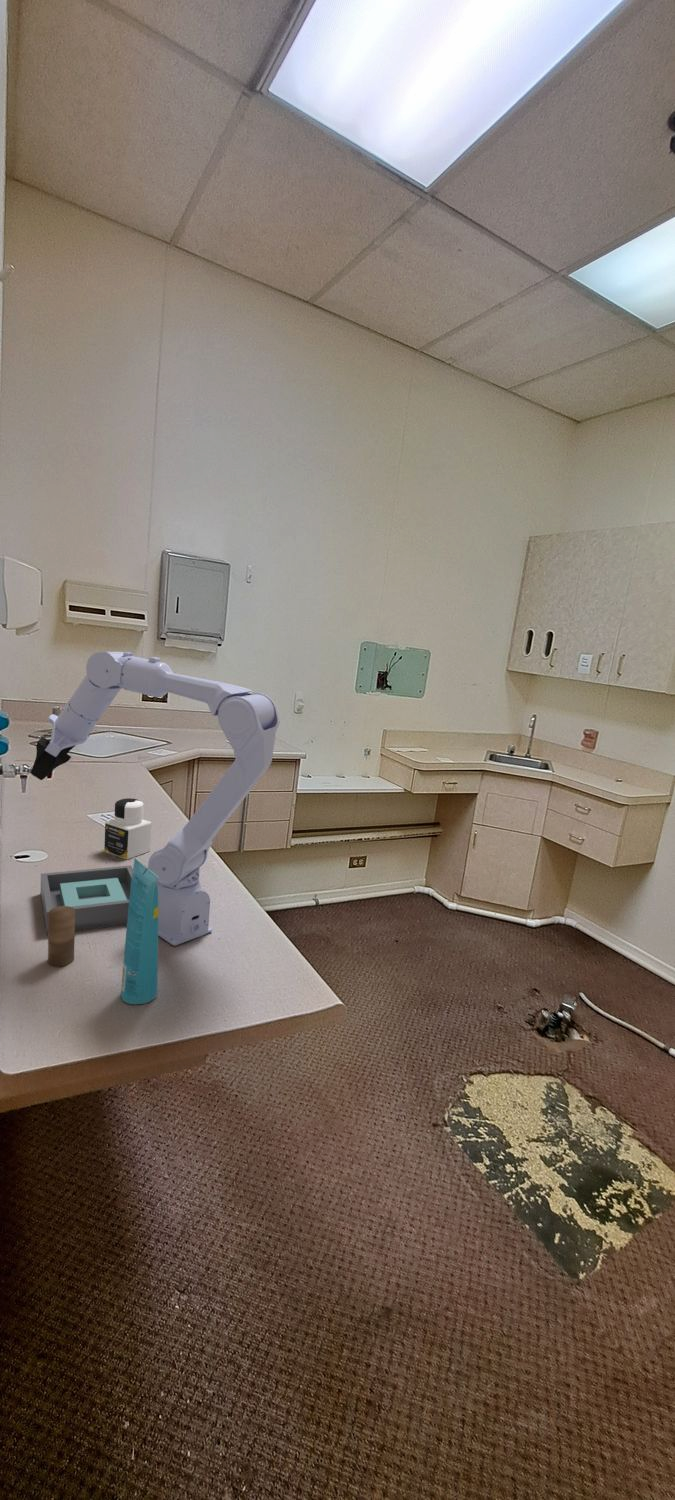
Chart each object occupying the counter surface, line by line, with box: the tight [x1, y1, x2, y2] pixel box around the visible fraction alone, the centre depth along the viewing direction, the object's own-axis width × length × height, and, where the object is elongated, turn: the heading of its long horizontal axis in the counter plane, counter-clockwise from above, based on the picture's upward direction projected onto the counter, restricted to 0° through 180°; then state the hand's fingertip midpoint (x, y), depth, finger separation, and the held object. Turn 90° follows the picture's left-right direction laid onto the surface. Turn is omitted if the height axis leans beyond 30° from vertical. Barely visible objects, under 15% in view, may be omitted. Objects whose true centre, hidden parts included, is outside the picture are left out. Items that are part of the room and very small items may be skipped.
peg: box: [47, 906, 76, 968], centre depth 90 cm, size 4×4×8 cm
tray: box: [40, 864, 133, 936], centre depth 108 cm, size 16×16×4 cm
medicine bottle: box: [103, 797, 152, 860], centre depth 134 cm, size 7×7×12 cm
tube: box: [120, 857, 159, 1005], centre depth 83 cm, size 7×5×19 cm, turn 47°
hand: (45, 766), depth 106 cm, fingers open, 7 cm apart
